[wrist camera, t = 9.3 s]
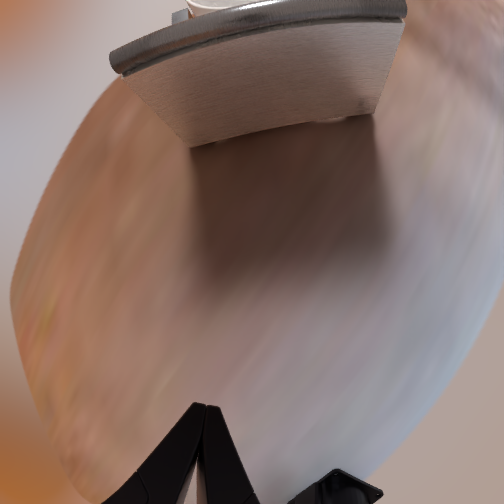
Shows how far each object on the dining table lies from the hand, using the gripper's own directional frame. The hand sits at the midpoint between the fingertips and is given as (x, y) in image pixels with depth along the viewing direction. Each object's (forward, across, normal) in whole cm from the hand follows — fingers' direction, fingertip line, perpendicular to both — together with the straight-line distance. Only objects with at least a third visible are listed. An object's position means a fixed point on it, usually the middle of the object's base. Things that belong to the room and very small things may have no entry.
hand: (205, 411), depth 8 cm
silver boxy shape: (+20, +1, -16) cm, 25 cm away
